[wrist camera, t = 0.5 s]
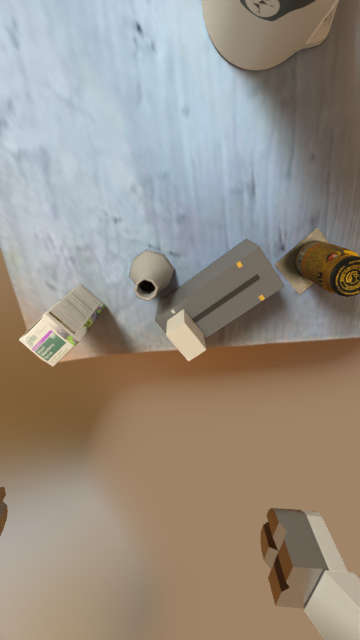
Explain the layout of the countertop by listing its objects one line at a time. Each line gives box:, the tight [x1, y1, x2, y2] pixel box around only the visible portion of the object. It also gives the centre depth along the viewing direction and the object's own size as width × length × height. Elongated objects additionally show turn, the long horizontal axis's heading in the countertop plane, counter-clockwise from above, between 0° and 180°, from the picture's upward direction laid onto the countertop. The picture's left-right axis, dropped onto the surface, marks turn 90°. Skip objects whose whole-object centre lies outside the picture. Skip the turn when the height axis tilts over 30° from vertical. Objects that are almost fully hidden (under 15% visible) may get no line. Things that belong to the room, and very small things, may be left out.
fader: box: [166, 309, 206, 361], centre depth 42 cm, size 3×5×5 cm, turn 37°
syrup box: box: [19, 284, 105, 366], centre depth 44 cm, size 6×6×14 cm
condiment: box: [275, 227, 360, 297], centre depth 43 cm, size 7×8×12 cm
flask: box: [129, 250, 174, 301], centre depth 44 cm, size 7×7×10 cm
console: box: [155, 239, 284, 339], centre depth 46 cm, size 18×7×8 cm, turn 127°
